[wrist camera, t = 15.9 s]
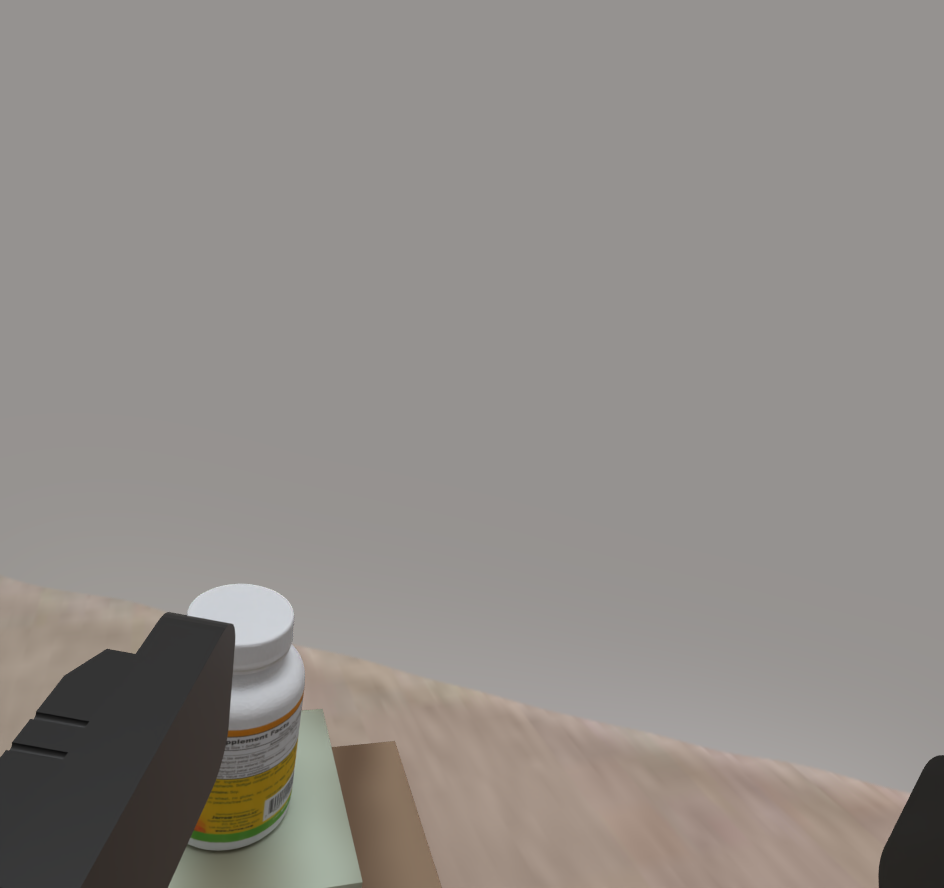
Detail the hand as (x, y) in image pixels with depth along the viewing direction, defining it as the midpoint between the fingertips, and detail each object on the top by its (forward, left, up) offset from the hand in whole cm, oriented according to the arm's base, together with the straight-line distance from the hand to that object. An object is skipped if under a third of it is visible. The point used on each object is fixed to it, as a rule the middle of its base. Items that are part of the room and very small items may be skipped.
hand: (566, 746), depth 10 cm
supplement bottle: (+1, -21, -23) cm, 31 cm away
